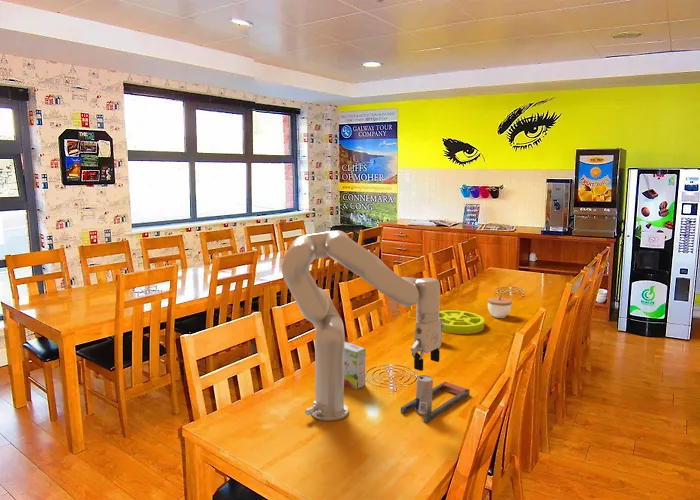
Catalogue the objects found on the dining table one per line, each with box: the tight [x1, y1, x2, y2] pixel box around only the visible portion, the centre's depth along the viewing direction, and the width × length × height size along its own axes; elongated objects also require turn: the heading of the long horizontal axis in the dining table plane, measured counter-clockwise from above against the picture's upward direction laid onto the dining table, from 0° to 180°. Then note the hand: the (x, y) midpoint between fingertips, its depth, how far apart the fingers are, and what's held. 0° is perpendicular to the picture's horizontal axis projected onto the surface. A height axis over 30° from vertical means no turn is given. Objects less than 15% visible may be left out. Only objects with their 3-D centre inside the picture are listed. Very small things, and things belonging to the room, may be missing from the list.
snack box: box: [344, 341, 366, 390], centre depth 198 cm, size 21×6×15 cm, turn 47°
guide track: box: [400, 381, 471, 424], centre depth 180 cm, size 28×10×2 cm, turn 138°
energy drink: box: [415, 374, 434, 416], centre depth 173 cm, size 5×5×12 cm
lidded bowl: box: [487, 296, 513, 319], centre depth 283 cm, size 13×13×11 cm
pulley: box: [439, 309, 485, 335], centre depth 267 cm, size 28×28×5 cm
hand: (426, 365), depth 172 cm, fingers open, 9 cm apart
